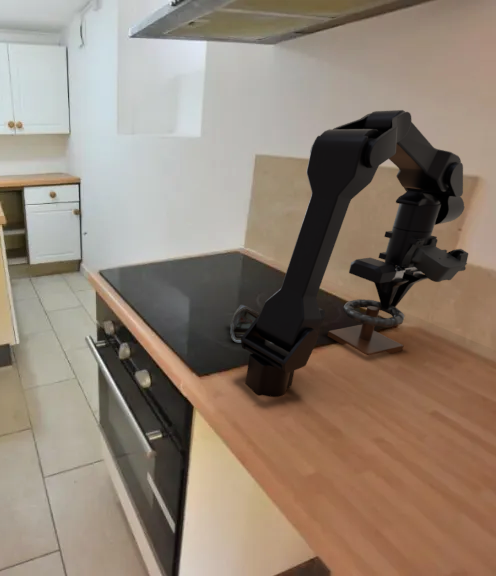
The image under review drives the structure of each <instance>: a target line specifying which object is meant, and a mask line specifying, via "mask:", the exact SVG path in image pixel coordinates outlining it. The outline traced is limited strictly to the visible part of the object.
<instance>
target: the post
mask: <svg viewBox="0 0 496 576" xmlns="http://www.w3.org/2000/svg"><path fill="white" fill-rule="evenodd" d="M380 311H381V310H380V309H379V308H377V307H374V306H368V307H367V308H366V310H365V313H364V315H367V316H372V317H376V318H379V317H378V316H379V313H380ZM375 327H376V326H372V325H368V324H364V323H361V324H357V325H352V326H347V327H341V328H338V329H332V330H328V332H327V337H328V338H330V339H332V340H333V341H335V342H336V343H338V344H340V345H343V346H344V345H349V346H350V347H352V348H354V349H355V350H357V351H358V352H360V353H363V354H364V355H366V356H372V355H376V354H382V353H384V352H386V353H388V354H393V353H395V354H396V353H398V352H402V351H403V349H404V346H405V345H404V344H403V343H400V342H398V341H396V340H394V339H392V338H390V337H388V336H386V335H384V334H382V333H380V332H378V331H376V330H375Z"/></svg>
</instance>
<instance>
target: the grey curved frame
mask: <svg viewBox="0 0 496 576" xmlns="http://www.w3.org/2000/svg"><path fill="white" fill-rule="evenodd" d="M259 314H260V313H259V312H258V311H256V310H254V309H252V308H250V307H248V306H247V305H245V304H239V305H238V308H237V309H236V310H235V311H234V314H233V316H232V319H231V321H230V324H229V326H230V327H229V328H230V329H229V330H230V331H229V333H230V334H229V335H230V337H231V340H232V341H234V342H235V343H240V344H241V338H242V336H243V335H244V334H245V333H246V331H247V330H248V329H249V327H250V326H251V325H252V324H253V322H254V321H255V320H256V318H257V317H258V316H259ZM265 340H266V339H265ZM266 341H268V340H266ZM268 342H270V341H268ZM270 343H271V342H270ZM272 344H273V343H272Z"/></svg>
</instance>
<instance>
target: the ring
mask: <svg viewBox="0 0 496 576" xmlns="http://www.w3.org/2000/svg"><path fill="white" fill-rule="evenodd" d="M368 306H374V307H377V308H379V309H380V310H379V311H381V312H384V313H386V314H388V315H390V316H392V317H377V318H376V317H372V316H367V315H365V314H364V313H362V312H359V311H358V310H355V309H358V308H362V309H363V308H364V309H365V308H366V309H367V307H368ZM342 309H343V312H344V313H345V314H346V316H347V317H348V318H349V319H351V320H353V321H354V320H355V321H356V322H357V323H360V324H363V323H364V324H368V325H372V326H375V327H380V328H381V327H382V328H393V327H396V326H400V325H402V324H403V323H404V321H405V318H406V317H405V316H406V315H405V314H404V312H402V310H400V309H399V308H398V307H397V306H396V307H394V306H391V305H390V307H389V308H388V309H385V308H382V306H381V303H380V300H379V301H378V300H374V299H362V298H361V299H360V298H359V299H357V298H356V299H352V300H348V301H347V302H345V304H344V306H343V307H342Z"/></svg>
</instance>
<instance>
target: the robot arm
mask: <svg viewBox="0 0 496 576" xmlns="http://www.w3.org/2000/svg"><path fill="white" fill-rule="evenodd" d="M388 160H389V161H390V162H391V163H392V164H394V165H395V166H396V167H397V168H398V171H397V173H396V178H397V180H398V182H399V183H400V185H401V187H402V188H403V189H404V191H405V192H404V193H403V194H401V195H400V196H398V197H397V199H395V203H396V204H398V207H397V211H396V214H395V217H394V221H393V225H392V228H391V230H387V231H385V233H384V236H383V237H384V238H387V239H388V242H387V245H386V246H387V247H386V250H385V251H383V252H379V254H378V259H376V258H373V257H365V258H357V259H354V260H353V261H351V262H350V265H349V270H348V274H351V275H353V276H356V277H358V278H360V279H363V280H366V281H369V282H371V283H374V286H375V288H376V293H377V295H378V299H379V302H380V303H381V306H382V308H385V309H388V308H389V307H390V305H391V306H394V307H396V308H397V306H398V304H400V302H401V301H402V300H403V298H404V297H405V295H406V294H407V293H408V292H409V290H410V289H412V287H413V286H414V285H415V284H416V283H419V282H422V281H424V280H430V281H432V282H434V283H440V282H442V281H451V280H452V279H453V278H454V277H455V276H456V275H457V274H458V273H459V272H464V271H465V270H466V269H467V267H466V266H467V265H468V263H467V262H468V258H469V252H467V251H466V250H464V249H462V248H457V249H456V248H455V249H452V250H450V251H448V250H447V249H441V248H439V247H437V244H438V237H437V236H435V235H433V231H434V227H435V226H437V225H441V224H445V223H450V222H453V221H455V220H457V219H458V218H459V217H460V216H462V214H463V212H464V210H465V202H464V200H463V198H462V196H463V194H464V165H463V163H462V161H461V158H460V156H459V155H458V154H456V153H454V152H452V151H448V150H444V149H440V148H436V147H434V146H433V145H432V143H430V141H429V140H428V139H427V138H426V136H425V135H424V134H423V133H422V132H421V131H420V129H418V127H417V126H416V125H415V124H414V123H413V121H412V114H411V112H409V111H405V110H403V109H398V110H396V109H395V110H394V109H393V110H375V111H372V112H370V113H367V114H365V115H364V116H362V117H361V118H359V119H356V120H353V121H350V122H347V123H344V124H341V125H338V126H336V127H334V128H332V129H330V128H329V129H327V130H324V131H323V132H322V133H321V134H320V135H317V137H316V138H315V139H314V141H313V143H312V145H311V148H310V152H309V157H308V162H307V167H306V176H307V179H308V184H309V187H310V191H311V195H310V199H309V202H308V205H307V208H306V211H305V214H304V217H303V220H302V223H301V226H300V229H299V232H298V235H297V238H296V241H295V245H294V247H293V251H292V252H291V253H292V254H291V256H290V260H289V262H288V266H287V269H286V271H285V274H284V278H283V281H282V285H281V287H280V289H278V290H277V291H276V292H275V293H273V294H272V295H271V296H270V297H269V298H268V299H267V300H265V301H264V304H263V306H262V308H261V311H260V313H259V316H258V317H257V318H256V320H255V321H254V322H253V324H252V325H251V326H250V327H249V329H248V330H247V331H246V333H245V334H244V335H243V336H242V338H241V343H240V345H241V348H242V349H244V350H246V351H248V352H249V353H250V354H249V357H248V364H247V370H246V376H245V383H244V384H245V385H246V387H248V388H249V389H250V390H251V391H252V392H253V393H255V395H256V396H265V397H273V398H276V397H277V398H278V397H281V396H283V395H285V394H286V392H287V389H290V388H291V387H292V385H293V379H294V376H295V375H294V374H295V371H297V370H299V369H301V368H304V367H306V366H307V364H308V361H309V359H310V357H311V355H312V353H313V350H314V348H315V346H316V344H317V341H318V339H319V335H320V332H321V331H320V330H321V327H322V324H323V321H324V320H325V318H326V312H325V309H323V308H320V307H319V304H318V300H317V296H318V294H319V290H320V288H321V285H322V281H323V279H324V276H325V273H326V270H327V269H328V265H329V262H330V259H331V256H332V255H333V254H332V253H333V251H334V248H335V246H336V243H337V239H338V237H339V234H340V232H341V229H342V225H343V223H344V220H345V218H346V214H347V211H348V208H349V206H350V204H351V201H352V199H354V198H355V197H356V196H357V195H359V194H360V193H361V192H362V191H363V190H364V189H365V188H366V187H368V185H370V184H371V183H372V181H373V179H374V177H375V175H376V172H377V170H378V169H379V166H381V165H382V164H383V163H385V162H386V161H388ZM379 259H381V260H379ZM382 260H383V261H382ZM265 339H266V340H268V341H270V342H271V343H270V342H268V341H266V340H265ZM272 343H273V344H272Z"/></svg>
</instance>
